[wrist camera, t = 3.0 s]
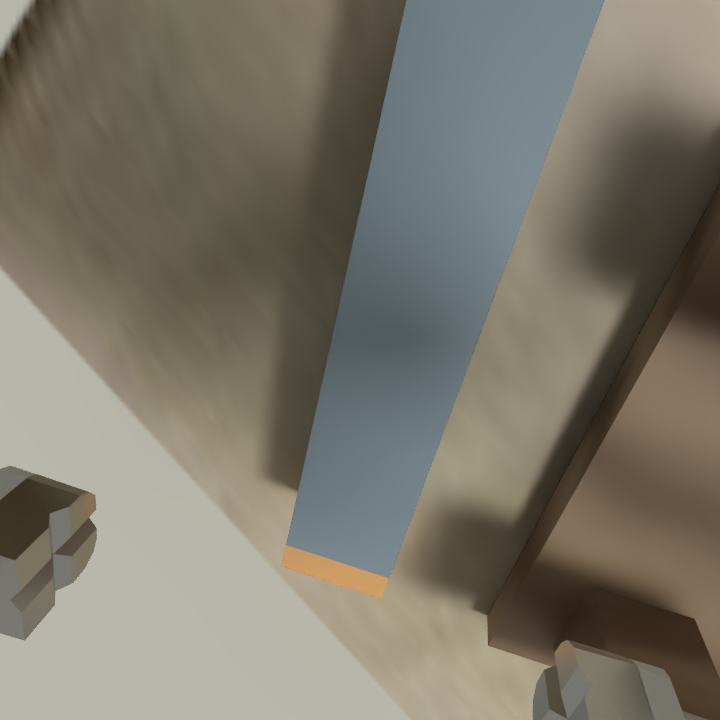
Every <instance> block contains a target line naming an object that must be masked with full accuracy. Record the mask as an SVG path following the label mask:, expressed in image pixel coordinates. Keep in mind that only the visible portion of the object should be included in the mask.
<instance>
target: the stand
mask: <svg viewBox="0 0 720 720" xmlns="http://www.w3.org/2000/svg"><path fill="white" fill-rule="evenodd" d="M487 619H488V646H491V647H494V648H497V649H500V650H503V651H506V652H509V653H512V654H515V655H518V656H522V657H525V658H528V659H531V660H534V661H537V662H540V663H543V664H546V665H549V666H555V665H556V659H555V651H556V650H557V648H558V647H559V645H560V644H561V643H562V642H564V641H566V640H570V641H573V642H577V643H580V644H583V645H587V646H590V647H593V648H597V649H600V650H604V651H607V652H610V653H614V654H617V655H620V656H624V657H626V658H628V659H632V660H635V661H639V662H642V663H645V664H648V665H652V666H655V667H658V668H661V669H664V671H665V672H666V673H667V674H668V676H669V677H670V679H671V682H672V685H673V688H674V690H675V693H676V696H677V699H678V701H679V704H680V707H681V709H682V712H683V715H684V718H685V720H720V185H719V186H718V188H717V190H716V192H715V194H714V196H713V198H712V199H711V201H710V203H709V205H708V207H707V209H706V211H705V212H704V214H703V216H702V218H701V220H700V222H699V224H698V225H697V227H696V229H695V231H694V233H693V235H692V237H691V238H690V240H689V242H688V244H687V246H686V248H685V250H684V252H683V253H682V255H681V257H680V259H679V261H678V263H677V265H676V266H675V268H674V270H673V272H672V274H671V276H670V278H669V279H668V281H667V283H666V285H665V287H664V289H663V291H662V292H661V294H660V296H659V298H658V300H657V302H656V304H655V305H654V307H653V309H652V311H651V313H650V315H649V317H648V319H647V320H646V322H645V324H644V326H643V328H642V330H641V332H640V333H639V335H638V337H637V339H636V341H635V343H634V345H633V346H632V348H631V350H630V352H629V354H628V356H627V358H626V359H625V361H624V363H623V365H622V367H621V369H620V371H619V372H618V374H617V376H616V378H615V380H614V382H613V384H612V386H611V387H610V389H609V391H608V393H607V395H606V397H605V399H604V400H603V402H602V404H601V406H600V408H599V410H598V412H597V413H596V415H595V417H594V419H593V421H592V423H591V425H590V426H589V428H588V430H587V432H586V434H585V436H584V438H583V439H582V441H581V443H580V445H579V447H578V449H577V451H576V452H575V454H574V456H573V458H572V460H571V462H570V464H569V466H568V467H567V469H566V471H565V473H564V475H563V477H562V479H561V480H560V482H559V484H558V486H557V488H556V490H555V492H554V493H553V495H552V497H551V499H550V501H549V503H548V505H547V506H546V508H545V510H544V512H543V514H542V516H541V518H540V519H539V521H538V523H537V525H536V527H535V529H534V531H533V533H532V534H531V536H530V538H529V540H528V542H527V544H526V546H525V547H524V549H523V551H522V553H521V555H520V557H519V559H518V560H517V562H516V564H515V566H514V568H513V570H512V572H511V573H510V575H509V577H508V579H507V581H506V583H505V585H504V586H503V588H502V590H501V592H500V594H499V596H498V598H497V599H496V601H495V603H494V605H493V607H492V609H491V611H490V613H489V614H488V616H487Z"/></svg>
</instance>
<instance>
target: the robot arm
mask: <svg viewBox="0 0 720 720" xmlns="http://www.w3.org/2000/svg"><path fill="white" fill-rule="evenodd" d="M95 510H96V500H95V495H94V494H92V493H90V492H87V491H85V490H81V489H79V488H76V487H72V486H70V485H67V484H64V483H61V482H58V481H55V480H52V479H49V478H46V477H44V476H41V475H37V474H34V473H31V472H28V471H24V470H22V469H19V468H16V467H12V466H8V467H5V468H2V469H0V633H2V634H5V635H8V636H11V637H15V638H18V639H21V640H26V638H27V637H28V636H29V635H30V634H31V632H32V631H33V630H34V629H35V628H36V627H37V625H38V624H39V623H40V622H41V621H42V619H43V618H44V617H45V616H46V615H47V613H48V612H49V611H50V610H51V609H52V607H53V606H54V605H55V591H56V590H58V589H61V588H63V587H65V586H67V585H69V584H71V583H73V582H74V581H75V580H76V578H77V577H78V576H79V575H80V573H81V572H82V571H83V570H84V568H85V567H86V565H87V563H88V561H89V559H90V557H91V555H92V553H93V551H94V547H95V543H96V539H97V538H96V537H97V534H96V533H97V532H96V531H97V529H96V527H95V525H94V524H93V523H92V521H91V520H90V518H89V517H90V515H91V514H92V513H93V512H94V511H95ZM555 659H556V665H555V666H552V667H550V668H547V669H545V670H544V671H543V673H542V674H541V676H540V678H539V680H538V682H537V685H536V689H535V694H534V699H533V720H685V718H684V715H683V712H682V709H681V707H680V704H679V701H678V699H677V696H676V693H675V690H674V688H673V685H672V682H671V679H670V677H669V676H668V674H667V673H666V672H665V671H664V669H661V668H658V667H655V666H652V665H648V664H645V663H642V662H639V661H635V660H632V659H628V658H626V657H624V656H620V655H617V654H614V653H610V652H607V651H604V650H600V649H597V648H593V647H590V646H587V645H583V644H580V643H577V642H573V641H570V640H566V641H564V642H562V643H561V644H560V645H559V647H558V648H557V650H556V651H555Z"/></svg>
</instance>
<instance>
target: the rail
mask: <svg viewBox="0 0 720 720" xmlns="http://www.w3.org/2000/svg"><path fill="white" fill-rule="evenodd" d="M603 3H604V0H406V4H405V8H404V13H403V18H402V22H401V27H400V31H399V36H398V40H397V45H396V49H395V54H394V58H393V63H392V67H391V72H390V76H389V81H388V86H387V90H386V95H385V99H384V104H383V108H382V113H381V117H380V122H379V126H378V131H377V135H376V140H375V144H374V149H373V154H372V158H371V163H370V167H369V172H368V176H367V181H366V185H365V190H364V194H363V199H362V203H361V208H360V213H359V217H358V222H357V226H356V231H355V235H354V240H353V244H352V249H351V253H350V258H349V262H348V267H347V271H346V276H345V281H344V285H343V290H342V294H341V299H340V303H339V308H338V312H337V317H336V321H335V326H334V330H333V335H332V340H331V344H330V349H329V353H328V358H327V362H326V367H325V371H324V376H323V380H322V385H321V389H320V394H319V398H318V403H317V408H316V412H315V417H314V421H313V426H312V430H311V435H310V439H309V444H308V448H307V453H306V457H305V462H304V466H303V471H302V476H301V480H300V485H299V489H298V494H297V498H296V503H295V507H294V512H293V516H292V521H291V525H290V530H289V535H288V539H287V544H286V548H285V553H284V557H283V562H282V567H285V568H288V569H291V570H294V571H297V572H300V573H303V574H306V575H310V576H313V577H316V578H319V579H322V580H325V581H328V582H331V583H334V584H337V585H340V586H343V587H346V588H349V589H352V590H355V591H358V592H361V593H364V594H367V595H371V596H374V597H377V598H380V599H381V598H382V596H383V593H384V590H385V588H386V585H387V582H388V580H389V577H390V574H391V571H392V569H393V566H394V563H395V561H396V558H397V555H398V553H399V550H400V547H401V545H402V542H403V539H404V537H405V534H406V531H407V529H408V526H409V523H410V521H411V518H412V515H413V512H414V510H415V507H416V504H417V502H418V499H419V496H420V494H421V491H422V488H423V486H424V483H425V480H426V478H427V475H428V472H429V470H430V467H431V464H432V461H433V459H434V456H435V453H436V451H437V448H438V445H439V443H440V440H441V437H442V435H443V432H444V429H445V427H446V424H447V421H448V419H449V416H450V413H451V411H452V408H453V405H454V402H455V400H456V397H457V394H458V392H459V389H460V386H461V384H462V381H463V378H464V376H465V373H466V370H467V368H468V365H469V362H470V360H471V357H472V354H473V352H474V349H475V346H476V343H477V341H478V338H479V335H480V333H481V330H482V327H483V325H484V322H485V319H486V317H487V314H488V311H489V309H490V306H491V303H492V301H493V298H494V295H495V292H496V290H497V287H498V284H499V282H500V279H501V276H502V274H503V271H504V268H505V266H506V263H507V260H508V258H509V255H510V252H511V250H512V247H513V244H514V242H515V239H516V236H517V233H518V231H519V228H520V225H521V223H522V220H523V217H524V215H525V212H526V209H527V207H528V204H529V201H530V199H531V196H532V193H533V191H534V188H535V185H536V182H537V180H538V177H539V174H540V172H541V169H542V166H543V164H544V161H545V158H546V156H547V153H548V150H549V148H550V145H551V142H552V140H553V137H554V134H555V132H556V129H557V126H558V123H559V121H560V118H561V115H562V113H563V110H564V107H565V105H566V102H567V99H568V97H569V94H570V91H571V89H572V86H573V83H574V81H575V78H576V75H577V72H578V70H579V67H580V64H581V62H582V59H583V56H584V54H585V51H586V48H587V46H588V43H589V40H590V38H591V35H592V32H593V30H594V27H595V24H596V22H597V19H598V16H599V13H600V11H601V8H602V5H603Z"/></svg>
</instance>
